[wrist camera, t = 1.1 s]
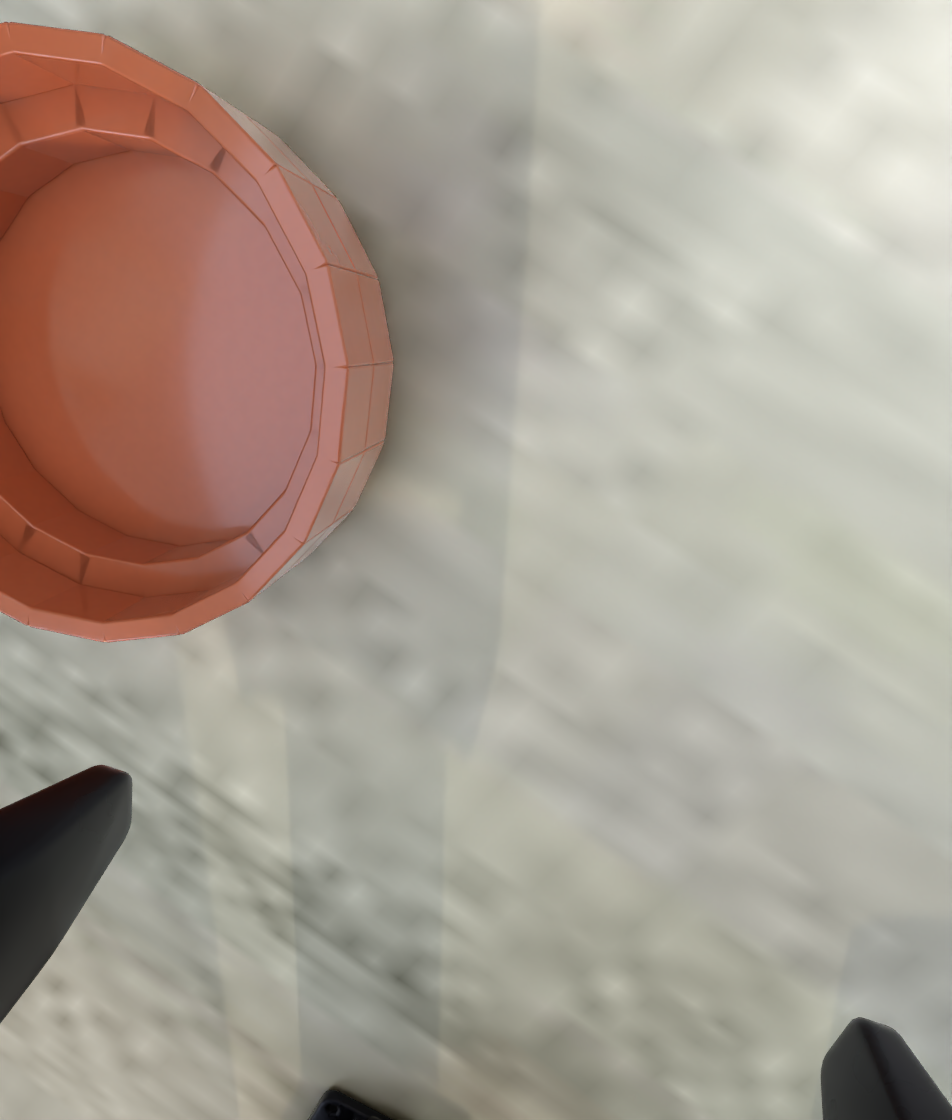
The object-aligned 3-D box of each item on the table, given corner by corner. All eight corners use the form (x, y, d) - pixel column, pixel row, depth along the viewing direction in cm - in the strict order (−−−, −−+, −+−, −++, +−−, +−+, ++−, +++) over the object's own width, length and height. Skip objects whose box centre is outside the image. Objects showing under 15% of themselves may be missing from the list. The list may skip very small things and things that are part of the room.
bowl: (292, 655, 25) (222, 729, 20) (-83, 458, 25) (-242, 485, 20) (481, 244, 20) (449, 215, 16) (24, 2, 20) (-148, -101, 16)
